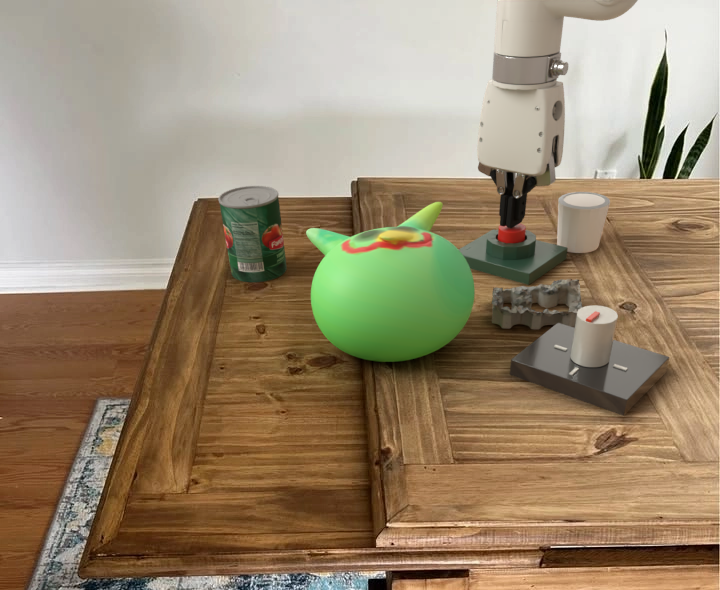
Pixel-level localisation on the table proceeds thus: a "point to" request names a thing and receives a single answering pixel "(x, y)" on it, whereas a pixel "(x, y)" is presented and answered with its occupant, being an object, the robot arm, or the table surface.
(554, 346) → the dial base plate
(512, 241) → the button
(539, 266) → the button housing
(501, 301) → the egg carton
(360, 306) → the toy bird
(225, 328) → the table surface
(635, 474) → the table surface
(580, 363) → the knob
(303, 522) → the table surface
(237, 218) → the canned tomato
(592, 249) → the white cup
